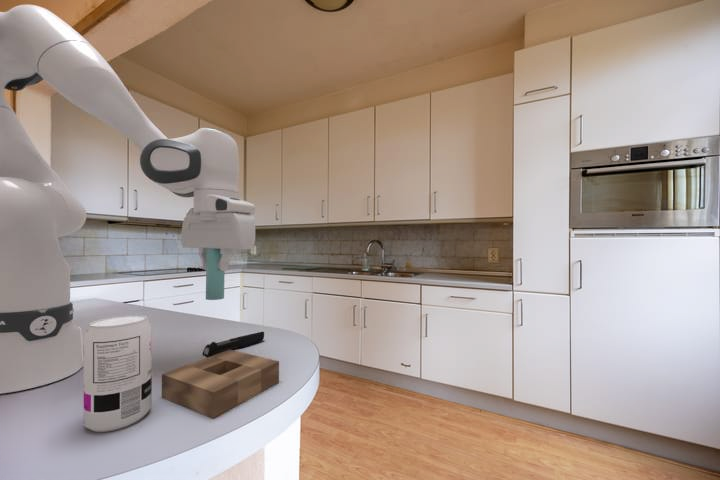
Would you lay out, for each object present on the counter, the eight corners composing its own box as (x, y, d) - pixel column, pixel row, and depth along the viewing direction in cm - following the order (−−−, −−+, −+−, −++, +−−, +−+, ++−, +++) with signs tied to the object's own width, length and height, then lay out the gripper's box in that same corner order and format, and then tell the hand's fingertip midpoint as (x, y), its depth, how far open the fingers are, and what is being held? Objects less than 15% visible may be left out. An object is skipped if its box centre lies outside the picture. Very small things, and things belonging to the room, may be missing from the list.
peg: (201, 298, 66) (203, 242, 67) (216, 296, 70) (218, 242, 70) (212, 300, 65) (214, 242, 65) (227, 298, 68) (228, 243, 68)
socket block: (161, 397, 54) (161, 374, 54) (230, 368, 66) (230, 349, 66) (213, 418, 47) (213, 392, 47) (279, 382, 60) (278, 361, 60)
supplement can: (68, 431, 44) (68, 326, 44) (122, 402, 52) (122, 313, 53) (116, 437, 43) (116, 328, 43) (164, 406, 51) (163, 315, 51)
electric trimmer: (267, 344, 84) (267, 332, 84) (207, 359, 72) (207, 345, 73) (260, 341, 86) (260, 329, 86) (201, 355, 75) (201, 342, 75)
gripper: (173, 206, 70) (172, 268, 69) (236, 201, 60) (234, 273, 59) (200, 209, 75) (198, 266, 75) (261, 205, 65) (259, 271, 65)
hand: (215, 270), depth 67 cm, fingers closed on peg, 4 cm apart
